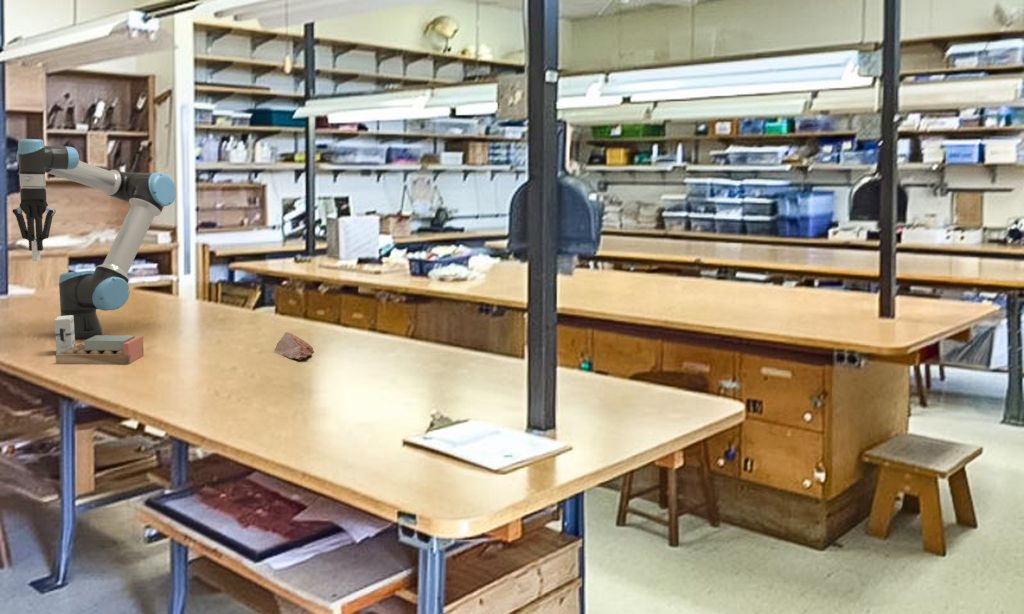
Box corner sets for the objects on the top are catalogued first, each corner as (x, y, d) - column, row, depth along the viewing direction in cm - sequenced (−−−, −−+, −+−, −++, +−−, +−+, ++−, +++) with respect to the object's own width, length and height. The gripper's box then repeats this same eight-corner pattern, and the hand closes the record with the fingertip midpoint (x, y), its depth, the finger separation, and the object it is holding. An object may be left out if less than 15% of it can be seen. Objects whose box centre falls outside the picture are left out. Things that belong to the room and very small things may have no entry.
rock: (288, 359, 312) (310, 335, 315) (268, 348, 333) (288, 326, 336) (311, 380, 317) (332, 356, 319) (289, 368, 337) (309, 346, 340)
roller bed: (73, 355, 319) (73, 343, 319) (143, 355, 321) (143, 343, 320) (56, 363, 305) (55, 351, 305) (129, 364, 307) (128, 351, 306)
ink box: (59, 350, 326) (57, 315, 325) (75, 350, 328) (74, 314, 326) (55, 355, 318) (54, 319, 317) (72, 355, 320) (71, 318, 318)
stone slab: (96, 344, 317) (96, 335, 317) (134, 344, 318) (134, 335, 317) (84, 350, 307) (84, 340, 307) (124, 350, 308) (123, 341, 307)
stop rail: (138, 355, 320) (137, 335, 320) (143, 355, 321) (143, 336, 320) (123, 364, 306) (123, 343, 306) (129, 364, 307) (128, 343, 306)
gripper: (6, 187, 316) (10, 261, 319) (48, 188, 317) (52, 262, 320) (17, 187, 324) (21, 259, 327) (58, 187, 324) (61, 260, 328)
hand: (36, 260), depth 324 cm, fingers closed
